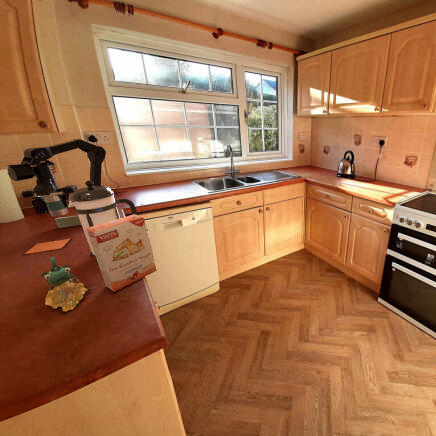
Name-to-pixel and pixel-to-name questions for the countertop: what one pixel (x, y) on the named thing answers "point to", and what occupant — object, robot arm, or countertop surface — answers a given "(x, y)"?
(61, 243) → the cloth
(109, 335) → the countertop surface
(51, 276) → the frog figurine
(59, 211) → the can
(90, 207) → the coffee press
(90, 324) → the countertop surface
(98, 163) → the robot arm
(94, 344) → the countertop surface
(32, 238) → the countertop surface
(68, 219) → the block
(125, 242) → the cracker box
